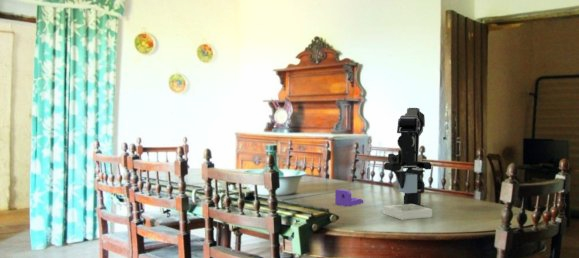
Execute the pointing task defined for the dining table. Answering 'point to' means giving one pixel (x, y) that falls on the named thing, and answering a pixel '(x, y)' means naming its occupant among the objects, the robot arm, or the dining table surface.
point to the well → (407, 211)
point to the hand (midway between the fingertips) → (407, 188)
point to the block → (409, 184)
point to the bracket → (346, 198)
